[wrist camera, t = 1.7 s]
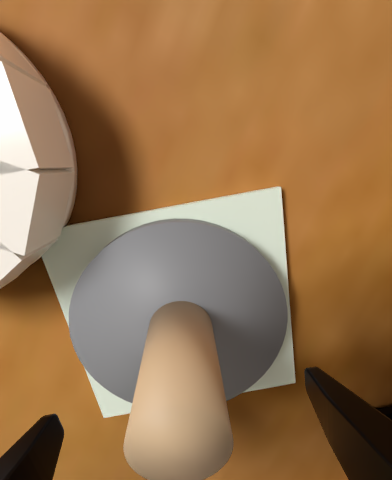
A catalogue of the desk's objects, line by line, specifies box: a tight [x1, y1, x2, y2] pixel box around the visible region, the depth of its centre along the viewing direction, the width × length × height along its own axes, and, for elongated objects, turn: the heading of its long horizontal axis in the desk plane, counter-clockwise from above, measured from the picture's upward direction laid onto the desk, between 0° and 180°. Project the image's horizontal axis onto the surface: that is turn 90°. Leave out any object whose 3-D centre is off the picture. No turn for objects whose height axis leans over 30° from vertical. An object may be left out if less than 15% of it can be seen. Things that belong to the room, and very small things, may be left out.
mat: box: [42, 186, 296, 418], centre depth 14 cm, size 12×12×1 cm
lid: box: [69, 218, 288, 480], centre depth 10 cm, size 11×11×6 cm
